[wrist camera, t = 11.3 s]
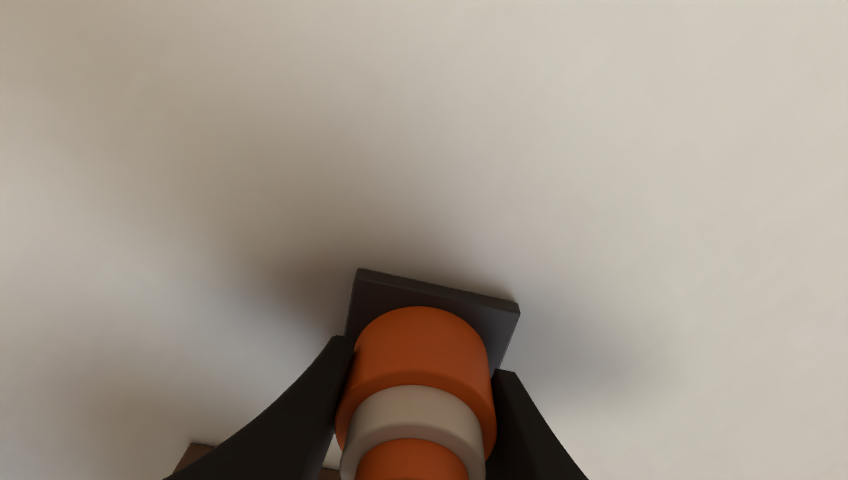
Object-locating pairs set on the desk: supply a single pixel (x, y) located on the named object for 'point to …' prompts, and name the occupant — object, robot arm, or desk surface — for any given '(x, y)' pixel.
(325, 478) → the base block
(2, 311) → the desk surface
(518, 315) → the cone
